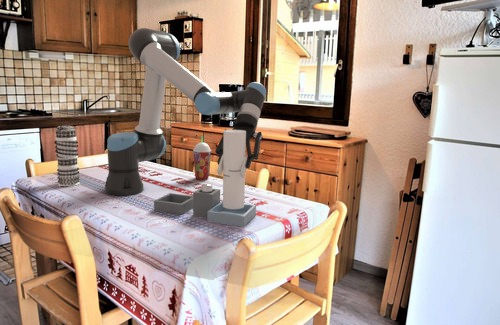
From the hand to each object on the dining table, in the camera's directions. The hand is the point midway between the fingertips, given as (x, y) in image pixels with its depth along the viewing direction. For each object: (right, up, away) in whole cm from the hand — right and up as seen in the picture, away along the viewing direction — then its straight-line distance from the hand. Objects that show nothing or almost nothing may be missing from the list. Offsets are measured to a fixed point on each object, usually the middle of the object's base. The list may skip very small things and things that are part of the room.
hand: (230, 174), depth 124 cm
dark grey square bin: (-20, -12, +15) cm, 28 cm away
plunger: (-9, -8, +10) cm, 15 cm away
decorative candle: (-71, -6, +42) cm, 83 cm away
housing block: (-9, -14, +11) cm, 20 cm away
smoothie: (-16, -4, +60) cm, 62 cm away
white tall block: (+1, -11, +5) cm, 12 cm away
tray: (0, -15, +6) cm, 16 cm away
